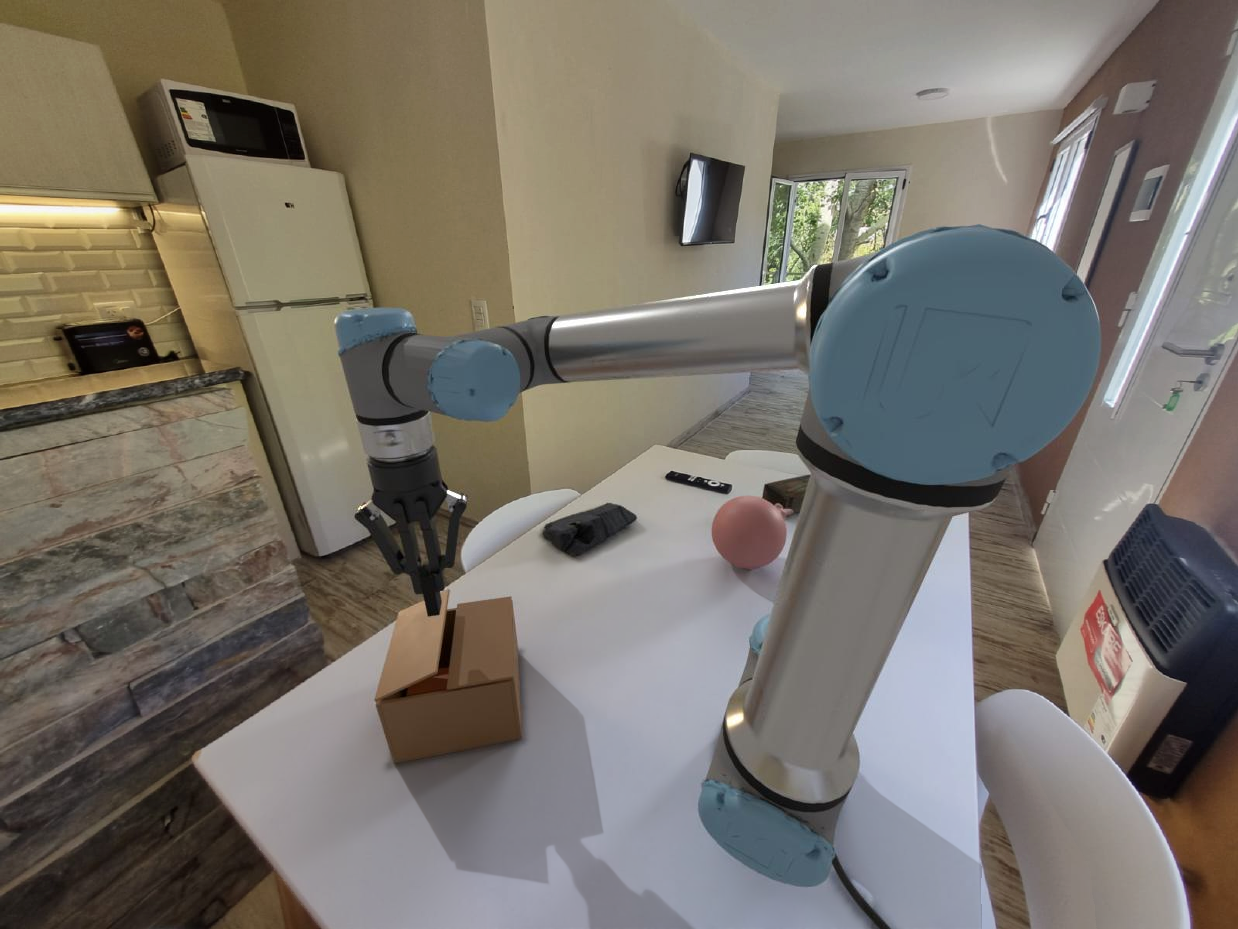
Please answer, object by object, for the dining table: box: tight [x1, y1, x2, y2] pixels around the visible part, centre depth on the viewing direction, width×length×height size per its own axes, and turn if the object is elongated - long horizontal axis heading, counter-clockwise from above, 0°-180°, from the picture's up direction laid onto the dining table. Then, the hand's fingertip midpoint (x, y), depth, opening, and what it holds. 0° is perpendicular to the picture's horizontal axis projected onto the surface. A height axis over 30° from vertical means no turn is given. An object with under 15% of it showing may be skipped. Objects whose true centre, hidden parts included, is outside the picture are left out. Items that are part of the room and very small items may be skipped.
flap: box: [374, 588, 451, 703], centre depth 66 cm, size 16×8×1 cm, turn 12°
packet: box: [406, 667, 449, 697], centre depth 71 cm, size 4×7×5 cm, turn 102°
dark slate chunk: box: [541, 502, 638, 557], centre depth 115 cm, size 15×22×5 cm
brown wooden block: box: [761, 473, 811, 514], centre depth 127 cm, size 8×19×7 cm, turn 114°
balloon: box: [711, 495, 794, 570], centre depth 103 cm, size 15×20×15 cm
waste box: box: [375, 596, 523, 764], centre depth 71 cm, size 16×17×12 cm
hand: (434, 608), depth 65 cm, fingers closed
